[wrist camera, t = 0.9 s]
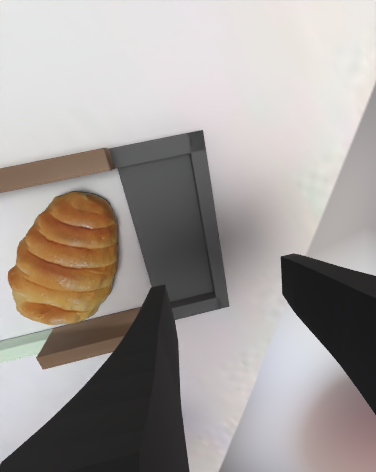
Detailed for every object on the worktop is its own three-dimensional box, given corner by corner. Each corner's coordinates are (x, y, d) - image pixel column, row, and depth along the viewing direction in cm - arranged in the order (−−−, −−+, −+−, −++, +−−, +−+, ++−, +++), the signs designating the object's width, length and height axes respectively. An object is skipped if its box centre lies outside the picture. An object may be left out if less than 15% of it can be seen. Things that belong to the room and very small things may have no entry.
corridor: (160, 314, 20) (161, 339, 18) (58, 339, 20) (42, 369, 17) (112, 148, 15) (103, 148, 13) (-25, 176, 15) (-67, 181, 12)
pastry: (44, 173, 16) (13, 179, 12) (140, 208, 17) (137, 222, 14) (18, 286, 18) (-15, 319, 14) (104, 307, 20) (93, 341, 16)
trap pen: (225, 298, 21) (229, 306, 20) (160, 314, 20) (160, 323, 19) (199, 131, 16) (202, 130, 15) (112, 148, 15) (109, 148, 14)
